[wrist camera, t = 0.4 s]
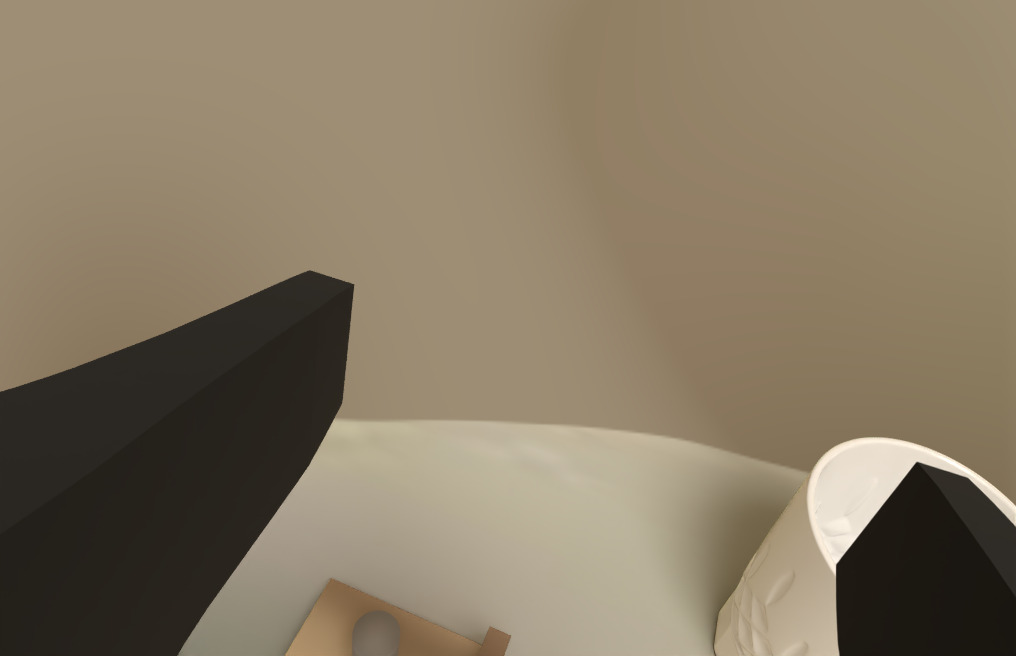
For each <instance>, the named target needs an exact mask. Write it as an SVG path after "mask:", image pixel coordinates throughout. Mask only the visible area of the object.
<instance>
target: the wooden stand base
mask: <svg viewBox="0 0 1016 656" xmlns="http://www.w3.org/2000/svg"><path fill="white" fill-rule="evenodd" d="M510 638H511V636H510V635H508V634H506V633H503V632H501V631H499V630H497V629H494V628H492V627H489V630H488V632H487V635H486V637H485V640H484V642H483V645H480V644H478V643H476V642H473V641H471V640H469V639H467V638H464V637H462V636H460V635H458V634H455V633H453V632H451V631H449V630H446V629H444V628H442V627H440V626H437V625H435V624H433V623H431V622H428V621H426V620H424V619H422V618H419V617H417V616H415V615H413V614H410V613H408V612H406V611H404V610H401V609H399V608H397V607H395V606H392V605H390V604H388V603H386V602H383V601H381V600H379V599H377V598H374V597H372V596H370V595H368V594H365V593H363V592H361V591H359V590H356V589H354V588H352V587H350V586H347V585H345V584H343V583H341V582H338V581H336V580H334V579H330V580H329V582H328V584H327V585H326V587H325V589H324V590H323V592H322V594H321V595H320V597H319V599H318V601H317V602H316V604H315V606H314V607H313V609H312V611H311V612H310V614H309V616H308V617H307V619H306V621H305V622H304V624H303V626H302V627H301V629H300V631H299V632H298V634H297V636H296V637H295V639H294V641H293V642H292V644H291V646H290V648H289V649H288V651H287V653H286V654H285V656H504V654H505V651H506V649H507V646H508V643H509V641H510Z"/></svg>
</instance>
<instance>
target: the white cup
mask: <svg viewBox="0 0 1016 656" xmlns="http://www.w3.org/2000/svg"><path fill="white" fill-rule="evenodd" d="M916 462H920V463H923V464H926V465H930V466H933V467H936V468H939V469H942V470H945V471H949V472H952V473H955V474H958V475H961V476H964V477H968V478H969V479H970V480H971V481H972V482H973V483H974V484H975V485H976V486H977V487H978V488H979V489H980V490H981V491H982V492H983V493H984V494H985V495H986V496H987V497H988V498H989V499H990V500H991V501H992V502H993V503H994V504H995V505H996V506H997V507H998V508H999V509H1000V510H1001V511H1002V512H1003V513H1004V514H1005V515H1006V516H1007V518H1008V519H1009V520H1010V521H1011V522H1012V523H1013V524H1014V525H1015V526H1016V506H1015V505H1014V504H1013V503H1012V502H1011V501H1010V500H1009V499H1008V498H1007V497H1006V496H1004V495H1003V494H1002V493H1001V492H1000V491H999V490H998V489H996V488H995V487H994V486H993V485H991V484H990V483H989V482H987V481H986V480H985V479H984V478H982V477H981V476H979V475H978V474H976V473H975V472H973V471H972V470H970V469H969V468H967V467H966V466H964V465H962V464H960V463H959V462H957V461H955V460H953V459H951V458H949V457H947V456H945V455H943V454H941V453H938V452H936V451H934V450H932V449H929V448H926V447H923V446H921V445H918V444H914V443H911V442H907V441H902V440H897V439H891V438H880V437H867V438H859V439H854V440H850V441H846V442H844V443H841V444H839V445H837V446H835V447H833V448H832V449H830V450H829V451H828V452H826V453H825V454H824V455H823V456H822V457H821V458H820V459H819V461H818V462H817V463H816V465H815V466H814V468H813V469H812V471H811V472H810V474H809V475H808V477H807V478H806V479H805V481H804V482H803V484H802V485H801V487H800V488H799V490H798V491H797V492H796V494H795V495H794V497H793V498H792V500H791V501H790V502H789V504H788V505H787V507H786V508H785V510H784V511H783V512H782V514H781V515H780V517H779V518H778V520H777V521H776V523H775V524H774V525H773V527H772V528H771V530H770V531H769V533H768V534H767V536H766V537H765V539H764V541H763V542H762V544H761V546H760V547H759V549H758V550H757V552H756V553H755V555H754V556H753V558H752V559H751V561H750V563H749V564H748V566H747V567H746V569H745V571H744V573H743V576H742V578H741V580H740V583H739V584H738V586H737V588H736V589H735V591H734V592H733V593H732V595H731V596H730V598H729V599H728V600H727V602H726V603H725V605H724V606H723V607H722V609H721V610H720V612H719V615H718V622H717V629H716V635H715V642H714V650H715V654H716V656H839V649H838V640H837V618H836V564H837V563H838V561H839V560H840V559H841V557H842V556H843V555H844V554H845V552H846V551H847V550H848V549H849V547H850V546H851V545H852V543H853V542H854V541H855V540H856V538H857V537H858V536H859V535H860V533H861V532H862V531H863V529H864V528H865V527H866V526H867V524H868V523H869V522H870V520H871V519H872V518H873V517H874V515H875V514H876V513H877V512H878V510H879V509H880V508H881V506H882V505H883V504H884V503H885V501H886V500H887V499H888V498H889V496H890V495H891V494H892V492H893V491H894V490H895V489H896V487H897V486H898V485H899V484H900V482H901V481H902V480H903V478H904V477H905V476H906V475H907V473H908V472H909V471H910V469H911V468H912V467H913V466H914V464H915V463H916Z"/></svg>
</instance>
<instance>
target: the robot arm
mask: <svg viewBox="0 0 1016 656" xmlns="http://www.w3.org/2000/svg"><path fill="white" fill-rule="evenodd" d="M353 291H354V284H351V283H348V282H345V281H342V280H339V279H335V278H332V277H329V276H326V275H323V274H320V273H316V272H313V271H307V272H304V273H302V274H299V275H297V276H294V277H292V278H289V279H288V280H285V281H283V282H280V283H278V284H276V285H273V286H271V287H269V288H267V289H264V290H262V291H260V292H258V293H256V294H253V295H251V296H249V297H247V298H245V299H242V300H240V301H238V302H235V303H233V304H231V305H229V306H226V307H224V308H222V309H220V310H217V311H215V312H213V313H210V314H208V315H206V316H203V317H201V318H199V319H196V320H194V321H192V322H189V323H187V324H185V325H182V326H180V327H178V328H176V329H173V330H171V331H169V332H166V333H164V334H161V335H159V336H156V337H153V338H151V339H148V340H146V341H143V342H140V343H138V344H135V345H132V346H130V347H127V348H125V349H122V350H119V351H117V352H114V353H112V354H109V355H106V356H104V357H101V358H98V359H96V360H93V361H91V362H88V363H85V364H83V365H80V366H78V367H75V368H72V369H69V370H66V371H64V372H61V373H58V374H55V375H52V376H49V377H46V378H43V379H40V380H37V381H34V382H31V383H28V384H24V385H22V386H19V387H15V388H12V389H8V390H5V391H2V392H0V656H177V655H178V653H179V652H180V650H181V648H182V647H183V645H184V643H185V642H186V640H187V639H188V637H189V635H190V634H191V632H192V631H193V629H194V628H195V626H196V625H197V623H198V622H199V620H200V619H201V617H202V616H203V614H204V613H205V611H206V610H207V608H208V607H209V605H210V604H211V603H212V601H213V600H214V598H215V597H216V596H217V594H218V593H219V591H220V590H221V589H222V587H223V586H224V584H225V583H226V582H227V580H228V579H229V577H230V576H231V575H232V573H233V572H234V570H235V569H236V568H237V566H238V565H239V563H240V562H241V561H242V559H243V558H244V556H245V555H246V554H247V552H248V551H249V549H250V548H251V547H252V545H253V544H254V542H255V541H256V540H257V538H258V537H259V535H260V534H261V533H262V531H263V530H264V528H265V527H266V526H267V524H268V523H269V522H270V520H271V519H272V517H273V516H274V515H275V513H276V512H277V510H278V509H279V507H280V506H281V505H282V503H283V502H284V500H285V499H286V498H287V496H288V495H289V493H290V492H291V490H292V489H293V488H294V486H295V485H296V483H297V482H298V481H299V479H300V478H301V476H302V475H303V473H304V472H305V470H306V469H307V467H308V466H309V464H310V462H311V461H312V459H313V457H314V455H315V453H316V452H317V450H318V448H319V446H320V444H321V443H322V441H323V439H324V437H325V435H326V433H327V431H328V429H329V427H330V426H331V424H332V422H333V420H334V418H335V416H336V414H337V412H338V410H339V408H340V406H341V404H342V400H343V390H344V380H345V370H346V361H347V350H348V340H349V330H350V321H351V310H352V301H353ZM836 618H837V640H838V649H839V656H1016V526H1015V525H1014V524H1013V523H1012V522H1011V521H1010V520H1009V519H1008V518H1007V516H1006V515H1005V514H1004V513H1003V512H1002V511H1001V510H1000V509H999V508H998V507H997V506H996V505H995V504H994V503H993V502H992V501H991V500H990V499H989V498H988V497H987V496H986V495H985V494H984V493H983V492H982V491H981V490H980V489H979V488H978V487H977V486H976V485H975V484H974V483H973V482H972V481H971V480H970V479H969V478H968V477H964V476H961V475H958V474H955V473H952V472H949V471H945V470H942V469H939V468H936V467H933V466H930V465H926V464H923V463H920V462H916V463H915V464H914V466H913V467H912V468H911V469H910V471H909V472H908V473H907V475H906V476H905V477H904V478H903V480H902V481H901V482H900V484H899V485H898V486H897V487H896V489H895V490H894V491H893V492H892V494H891V495H890V496H889V498H888V499H887V500H886V501H885V503H884V504H883V505H882V506H881V508H880V509H879V510H878V512H877V513H876V514H875V515H874V517H873V518H872V519H871V520H870V522H869V523H868V524H867V526H866V527H865V528H864V529H863V531H862V532H861V533H860V535H859V536H858V537H857V538H856V540H855V541H854V542H853V543H852V545H851V546H850V547H849V549H848V550H847V551H846V552H845V554H844V555H843V556H842V557H841V559H840V560H839V561H838V563H837V564H836Z"/></svg>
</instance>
